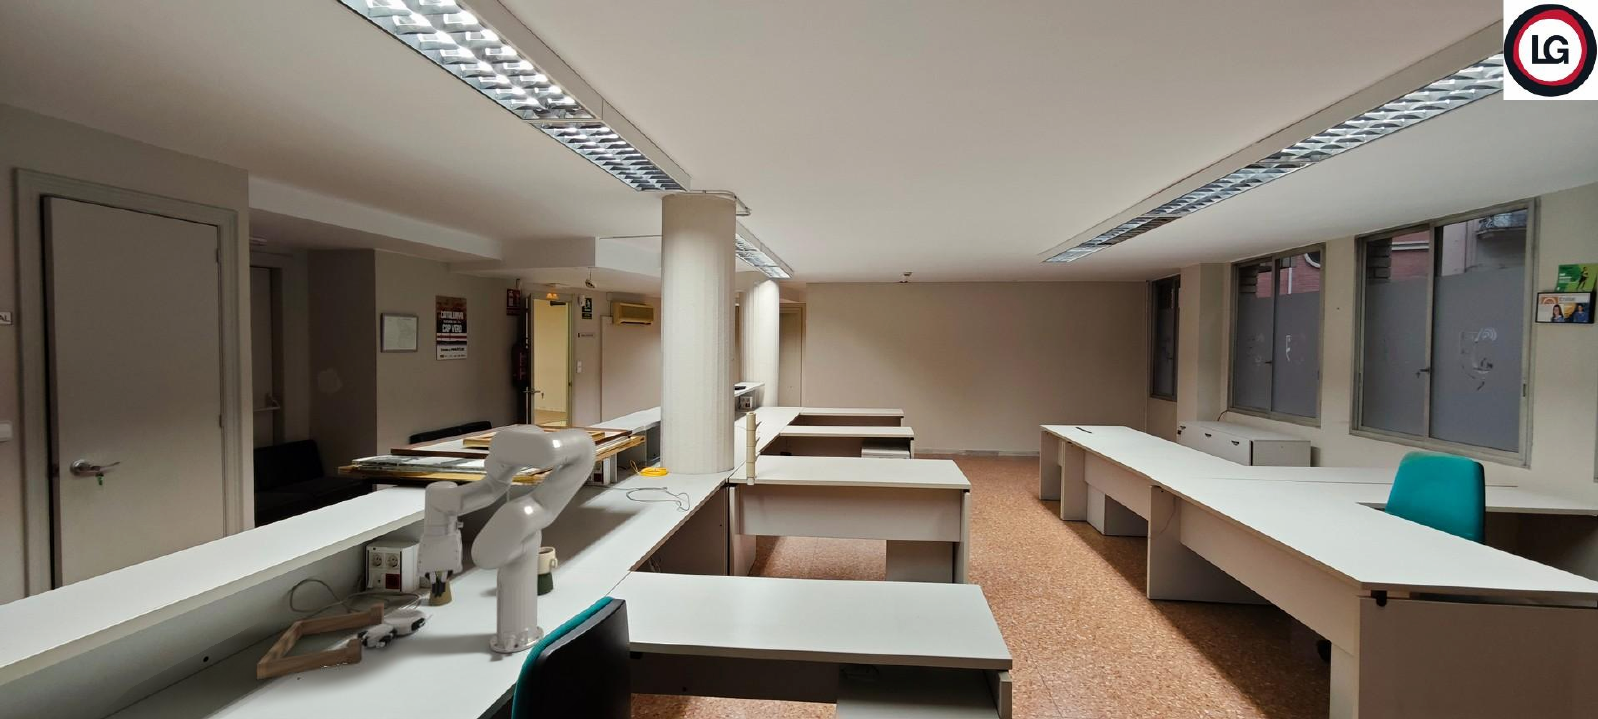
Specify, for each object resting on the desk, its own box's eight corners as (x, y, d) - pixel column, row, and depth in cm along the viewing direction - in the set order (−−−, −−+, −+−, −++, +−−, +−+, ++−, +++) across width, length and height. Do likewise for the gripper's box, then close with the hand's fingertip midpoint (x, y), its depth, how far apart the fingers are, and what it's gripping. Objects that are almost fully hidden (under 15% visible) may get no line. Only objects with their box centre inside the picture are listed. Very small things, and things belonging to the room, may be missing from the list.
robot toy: (381, 658, 141) (436, 626, 155) (379, 641, 140) (435, 610, 155) (346, 650, 145) (403, 619, 159) (344, 633, 144) (402, 604, 158)
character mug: (564, 589, 180) (565, 548, 179) (548, 598, 173) (548, 556, 173) (537, 584, 183) (537, 544, 183) (520, 593, 176) (520, 552, 176)
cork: (426, 601, 171) (426, 564, 170) (450, 595, 174) (450, 560, 174) (429, 608, 166) (429, 570, 166) (453, 602, 170) (453, 566, 170)
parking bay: (358, 662, 137) (358, 642, 137) (255, 680, 129) (255, 659, 129) (383, 620, 158) (383, 602, 158) (296, 633, 151) (296, 614, 151)
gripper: (473, 521, 160) (472, 585, 161) (410, 526, 154) (409, 593, 154) (470, 530, 153) (468, 597, 154) (404, 535, 147) (402, 605, 148)
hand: (438, 595), depth 154 cm, fingers closed
